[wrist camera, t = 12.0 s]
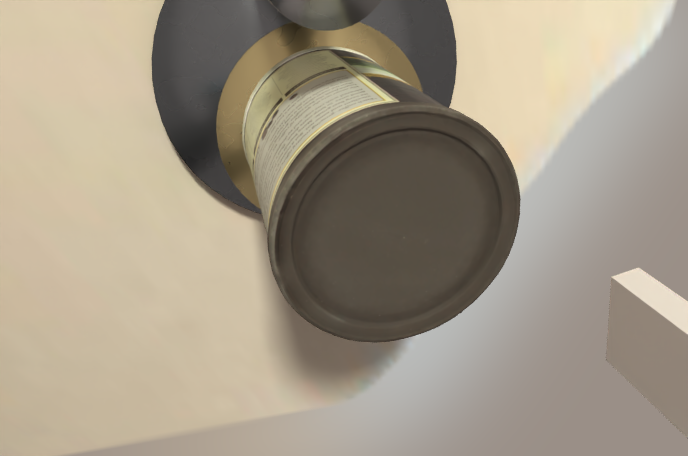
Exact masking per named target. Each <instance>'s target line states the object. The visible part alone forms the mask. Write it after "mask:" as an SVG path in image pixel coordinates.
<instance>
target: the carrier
mask: <svg viewBox="0 0 688 456" xmlns="http://www.w3.org/2000/svg"><path fill="white" fill-rule="evenodd" d="M321 46H334V47H342V48H347V49H351V50H354V51H357V52H359V53H362V54H364V55H366V56H368V57H369V58H371V59H373V60H374V61H375V62H377V63H378V64H379V65H380V66H382V67H383V68H384V69H386V70H388V71H389V72H391V73H392V74H394V75H396V76H397V77H399V78H400V79H402V80H404V81H405V82H407V83H408V84H410V85H412V86H413V87H415V88H416V89H418V90H419V91H421V92H423V93H424V94H426V95H428V96H429V97H431V98H432V99H434V100H436V101H437V102H439V103H440V104H442V105H443V106H445V107H448V108H449V106H450V103H451V99H452V95H453V90H454V85H455V76H456V64H457V59H456V40H455V34H454V28H453V22H452V19H451V16H450V12H449V9H448V5H447V3H446V0H165V2H164V4H163V7H162V9H161V12H160V14H159V18H158V22H157V26H156V30H155V34H154V42H153V51H152V81H153V87H154V93H155V99H156V103H157V107H158V110H159V113H160V116H161V120H162V123H163V125H164V127H165V129H166V131H167V133H168V136H169V138H170V140H171V142H172V143H173V145H174V147H175V148H176V150H177V151H178V153H179V155H180V156H181V158H182V159H183V160H184V161H185V163H186V164H187V165H188V166H189V167H190V169H191V170H192V171H193V172H194V173H195V174H196V175H197V176H198V177H199V178H200V179H201V180H202V181H203V182H204V183H205V184H206V185H208V186H209V187H210V188H212V189H213V190H214V191H216V192H217V193H218V194H220V195H221V196H223V197H224V198H226V199H228V200H230V201H232V202H233V203H235V204H237V205H239V206H241V207H244V208H246V209H249V210H251V211H254V212H257V213H260V214H262V212H261V208H260V204H259V200H258V197H257V193H256V189H255V184H254V181H253V177H252V173H251V169H250V166H249V164H248V162H247V159H246V156H245V151H244V148H243V143H242V125H243V118H244V113H245V109H246V106H247V103H248V101H249V98H250V96H251V94H252V92H253V91H254V89H255V87H256V86H257V84H258V82H259V81H260V80H261V78H262V77H263V76H264V75H265V74H266V73H267V72H268V71H269V70H270V69H271V68H272V67H274V66H275V65H276V64H277V63H279V62H280V61H282V60H283V59H285V58H286V57H288V56H290V55H292V54H294V53H297V52H299V51H302V50H306V49H309V48H314V47H321Z"/></svg>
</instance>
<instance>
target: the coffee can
mask: <svg viewBox="0 0 688 456" xmlns="http://www.w3.org/2000/svg"><path fill="white" fill-rule="evenodd" d="M242 143H243V148H244V151H245V156H246V159H247V162H248V164H249V166H250V169H251V173H252V177H253V181H254V184H255V189H256V193H257V197H258V200H259V204H260V208H261V212H262V216H263V220H264V224H265V228H266V232H267V235H268V251H269V257H270V263H271V267H272V271H273V274H274V277H275V279H276V281H277V284H278V286H279V288H280V290H281V292H282V294H283V295H284V297H285V299H286V300H287V301H288V303H289V304H290V305H291V306H292V308H293V309H294V310H295V311H296V312H297V313H298V314H300V315H301V316H302V317H303V318H304V319H305V320H307V321H308V322H309V323H311V324H312V325H314V326H316V327H318V328H319V329H321V330H323V331H325V332H328V333H330V334H332V335H335V336H338V337H341V338H345V339H348V340H354V341H361V342H387V341H394V340H399V339H404V338H408V337H412V336H415V335H418V334H421V333H424V332H427V331H429V330H431V329H434V328H436V327H438V326H440V325H442V324H444V323H446V322H447V321H449V320H451V319H452V318H454V317H456V316H457V315H458V314H459V313H461V312H462V311H463V310H464V309H466V308H467V307H468V306H469V305H471V304H472V303H473V302H474V301H475V300H476V299H477V298H478V297H479V296H480V295H481V294H482V293H483V292H484V291H485V290H486V289H487V287H488V286H489V285H490V284H491V282H492V281H493V280H494V278H495V277H496V276H497V275H498V273H499V272H500V270H501V268H502V267H503V265H504V263H505V261H506V259H507V257H508V256H509V253H510V250H511V248H512V246H513V243H514V239H515V236H516V233H517V227H518V222H519V215H520V192H519V185H518V180H517V176H516V173H515V170H514V167H513V165H512V162H511V160H510V159H509V157H508V155H507V153H506V151H505V150H504V148H503V147H502V145H501V144H500V142H499V141H498V140H497V139H496V138H495V137H494V136H493V135H492V134H491V133H490V132H489V131H488V130H487V129H485V128H484V127H483V126H482V125H480V124H479V123H478V122H476V121H474V120H473V119H471V118H469V117H467V116H465V115H464V114H462V113H460V112H458V111H456V110H453V109H451V108H448V107H445V106H443V105H442V104H440V103H439V102H437V101H436V100H434V99H432V98H431V97H429V96H428V95H426V94H424V93H423V92H421V91H419V90H418V89H416V88H415V87H413V86H412V85H410V84H408V83H407V82H405V81H404V80H402V79H400V78H399V77H397V76H396V75H394V74H392V73H391V72H389V71H388V70H386V69H384V68H383V67H382V66H380V65H379V64H378V63H377V62H375V61H374V60H373V59H371V58H369V57H368V56H366V55H364V54H362V53H359V52H357V51H354V50H351V49H347V48H342V47H334V46H321V47H314V48H309V49H306V50H302V51H299V52H297V53H294V54H292V55H290V56H288V57H286V58H285V59H283V60H282V61H280V62H279V63H277V64H276V65H275V66H274V67H272V68H271V69H270V70H269V71H268V72H267V73H266V74H265V75H264V76H263V77H262V78H261V80H260V81H259V82H258V84H257V86H256V87H255V89H254V91H253V92H252V94H251V96H250V98H249V101H248V103H247V106H246V109H245V113H244V118H243V125H242Z"/></svg>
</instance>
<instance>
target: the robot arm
mask: <svg viewBox="0 0 688 456" xmlns="http://www.w3.org/2000/svg"><path fill="white" fill-rule="evenodd" d="M609 305H610V306H609V320H608V337H607V352H606V360H607V362H609V363H610V364H611V365H612V366H613V367H614V368H615V369H616V370H617V371H618V372H619V373H620V374H621V375H622V376H623V377H624V378H625V379H626V380H627V381H629V383H630V384H632V386H634V387H635V388H636V389H637V390H638V391H639V392H640V393H641V394H642V395H643V396H644V397H645V398H646V399H647V400H648V401H649V402H650V403H651V404H652V405H653V406H654V407H655V408H656V409H657V410H658V411H660V412H661V413H662V414H663V415H664V416H665V417H666V418H667V419H668V420H669V421H670V422H671V423H672V424H673V425H674V426H675V427H676V428H677V429H678V430H679V431H680V432H682V434H683V435H684V436H685V437H687V438H688V301H686V300H685V299H683V298H682V297H680V296H679V295H677V294H676V293H675V292H673V291H672V290H670V289H669V288H667V287H666V286H664V285H663V284H662V283H660V282H659V281H657V280H656V279H654V278H653V277H651V276H650V275H649V274H647V273H645V272H644V271H642V270H641V269H640V268H637V269H633V270H630V271H627V272H624V273H621V274H618V275H615V276H612V277H611V289H610V304H609Z"/></svg>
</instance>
